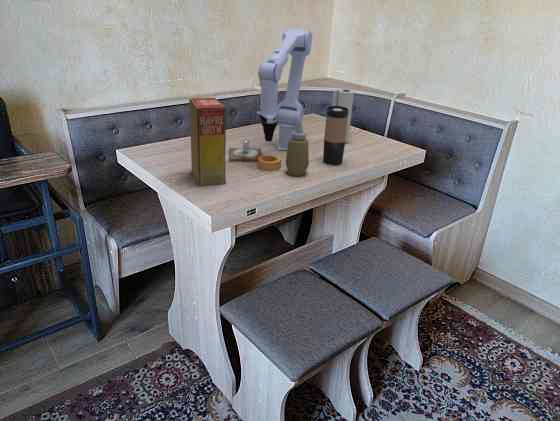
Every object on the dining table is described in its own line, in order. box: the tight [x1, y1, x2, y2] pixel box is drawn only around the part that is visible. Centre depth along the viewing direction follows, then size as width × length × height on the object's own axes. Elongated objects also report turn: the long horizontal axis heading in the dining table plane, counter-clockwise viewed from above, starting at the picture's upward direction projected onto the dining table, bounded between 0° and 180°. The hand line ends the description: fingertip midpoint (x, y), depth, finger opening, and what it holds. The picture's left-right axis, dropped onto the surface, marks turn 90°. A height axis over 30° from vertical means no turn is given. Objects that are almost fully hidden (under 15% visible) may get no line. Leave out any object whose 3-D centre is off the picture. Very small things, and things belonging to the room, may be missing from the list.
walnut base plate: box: [228, 147, 263, 163], centre depth 171 cm, size 12×12×1 cm
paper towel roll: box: [331, 88, 355, 145], centre depth 187 cm, size 7×6×21 cm
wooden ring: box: [257, 154, 282, 172], centre depth 162 cm, size 8×8×3 cm
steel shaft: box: [241, 139, 250, 154], centre depth 170 cm, size 2×2×5 cm
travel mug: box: [322, 105, 348, 166], centre depth 165 cm, size 8×8×20 cm
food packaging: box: [188, 97, 227, 187], centre depth 146 cm, size 13×9×25 cm
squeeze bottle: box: [285, 122, 310, 177], centre depth 154 cm, size 8×8×18 cm
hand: (267, 137), depth 162 cm, fingers open, 7 cm apart
